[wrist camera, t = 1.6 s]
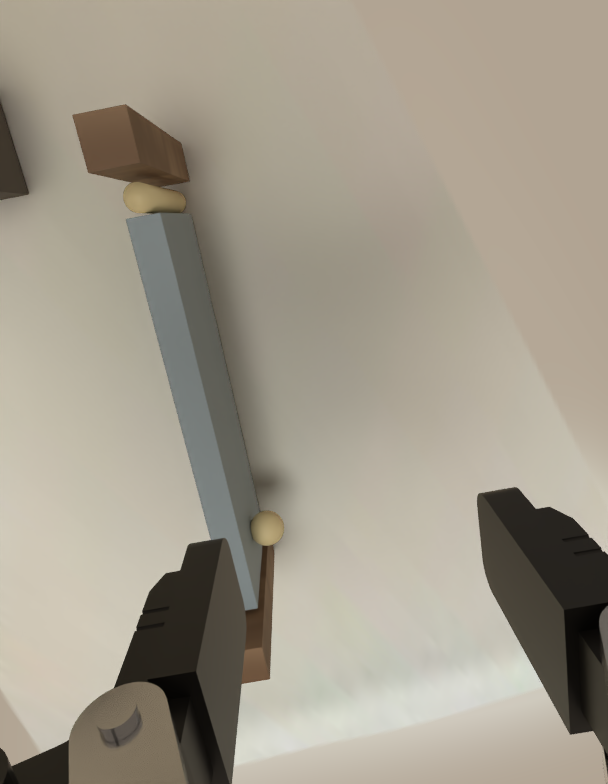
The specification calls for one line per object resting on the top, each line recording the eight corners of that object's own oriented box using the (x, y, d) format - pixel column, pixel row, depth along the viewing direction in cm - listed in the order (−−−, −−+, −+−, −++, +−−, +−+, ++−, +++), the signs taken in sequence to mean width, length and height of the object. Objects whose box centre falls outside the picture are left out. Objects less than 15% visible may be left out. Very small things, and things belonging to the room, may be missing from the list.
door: (158, 193, 25) (116, 185, 19) (218, 182, 25) (195, 170, 19) (242, 532, 30) (230, 613, 24) (291, 523, 30) (292, 602, 24)
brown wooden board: (146, 150, 25) (72, 115, 16) (181, 143, 25) (125, 104, 16) (246, 557, 31) (230, 685, 23) (274, 552, 31) (269, 678, 23)
